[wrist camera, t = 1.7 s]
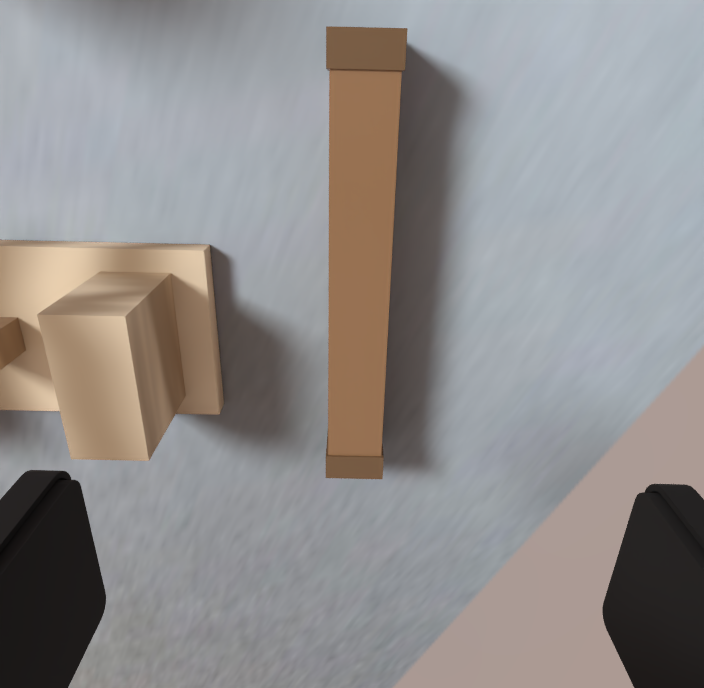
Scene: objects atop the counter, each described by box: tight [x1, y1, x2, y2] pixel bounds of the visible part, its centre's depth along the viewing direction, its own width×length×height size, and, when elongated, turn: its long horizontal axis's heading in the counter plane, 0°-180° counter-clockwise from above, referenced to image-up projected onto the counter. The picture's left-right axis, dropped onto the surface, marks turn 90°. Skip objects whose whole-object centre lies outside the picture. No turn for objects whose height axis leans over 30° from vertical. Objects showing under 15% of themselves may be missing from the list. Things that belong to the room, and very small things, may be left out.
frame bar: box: [326, 27, 407, 479], centre depth 23 cm, size 18×3×3 cm, turn 179°
